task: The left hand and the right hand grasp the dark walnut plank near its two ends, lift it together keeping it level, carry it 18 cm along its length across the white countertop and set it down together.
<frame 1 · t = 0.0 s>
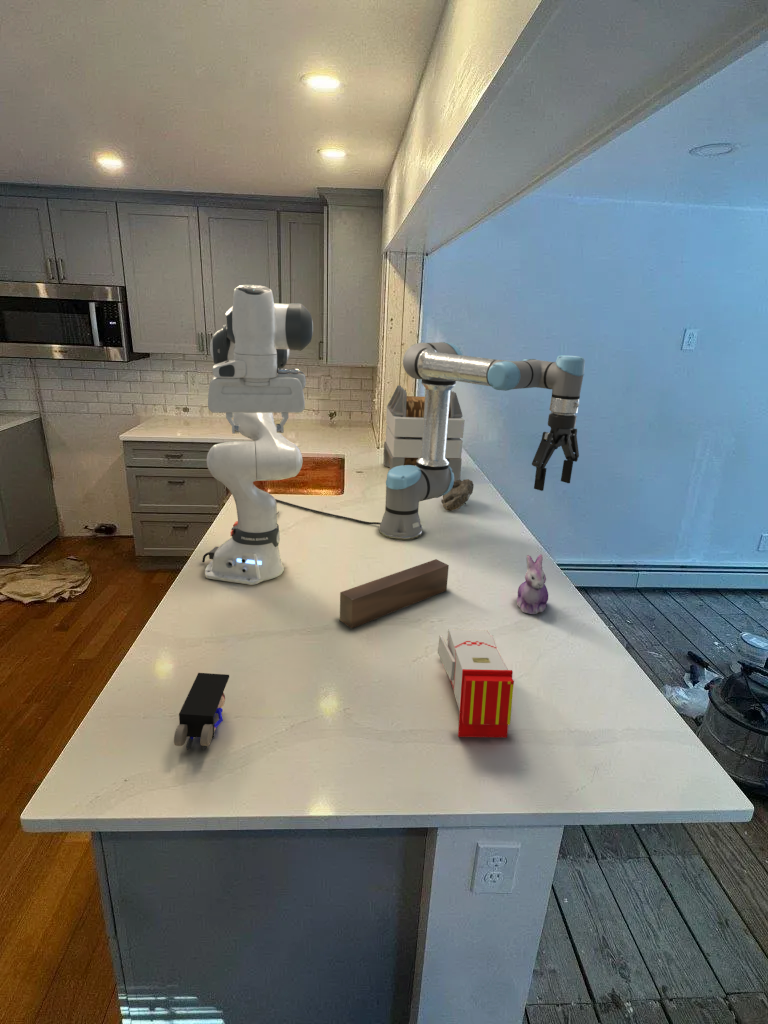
left hand: (258, 432, 124), 48 cm above the counter, fingers open, 8 cm apart
right hand: (552, 485, 166), 28 cm above the counter, fingers open, 13 cm apart
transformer: (419, 473, 275), on the counter
plank: (396, 604, 152), on the counter
fossil: (456, 504, 233), on the counter
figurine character: (205, 729, 105), on the counter
toy: (469, 691, 119), on the counter
figurine: (531, 607, 154), on the counter
feather: (277, 515, 212), on the counter
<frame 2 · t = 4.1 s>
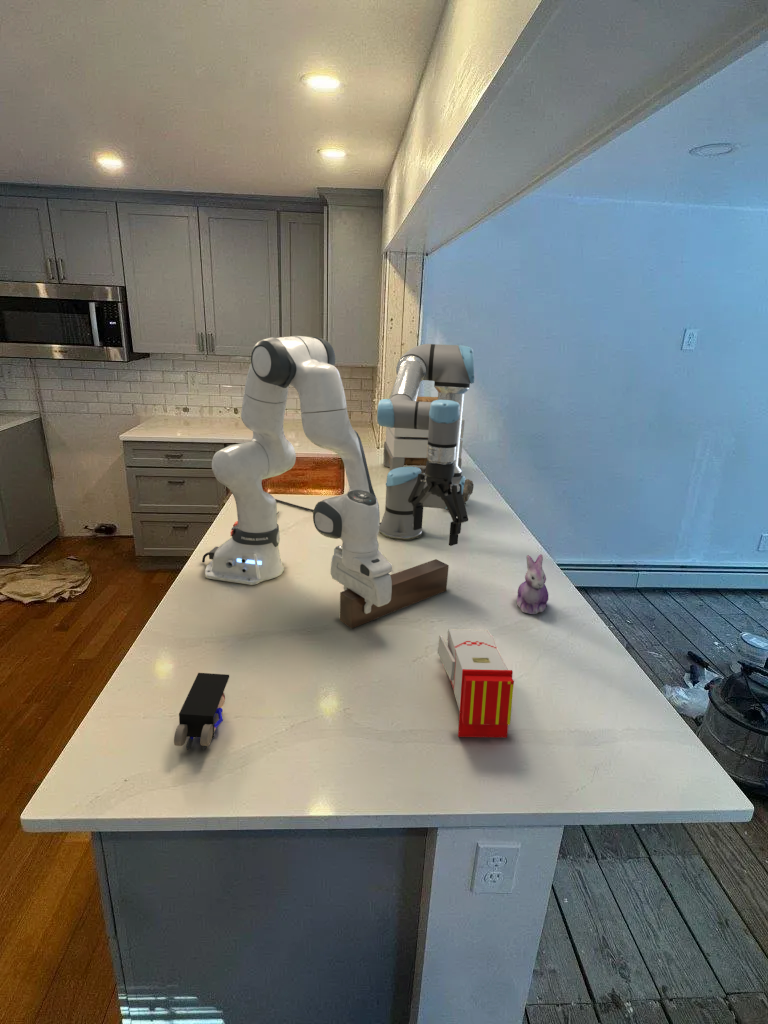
left hand: (358, 607, 143), 4 cm above the counter, fingers closed on plank, 5 cm apart
right hand: (434, 536, 155), 17 cm above the counter, fingers open, 13 cm apart
plank: (396, 604, 152), on the counter, touching left hand
everything else where it was.
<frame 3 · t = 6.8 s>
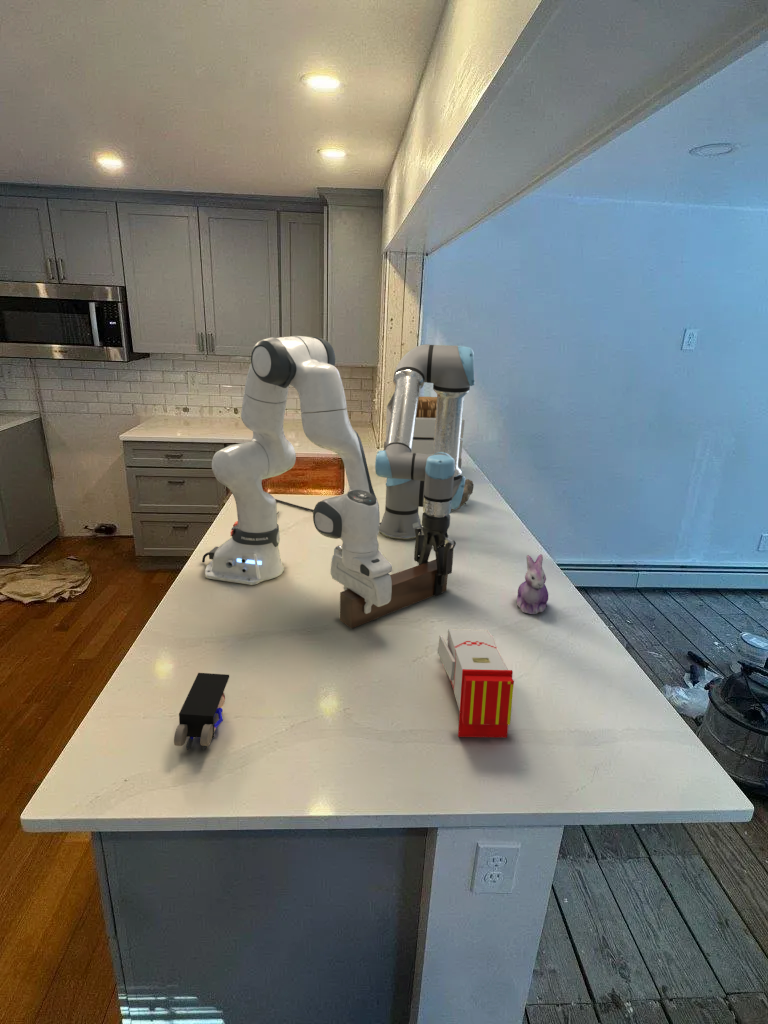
left hand: (358, 607, 143), 4 cm above the counter, fingers closed on plank, 5 cm apart
right hand: (430, 590, 160), 0 cm above the counter, fingers closed on plank, 5 cm apart
plank: (396, 604, 152), on the counter, touching right hand, left hand
everything else where it was.
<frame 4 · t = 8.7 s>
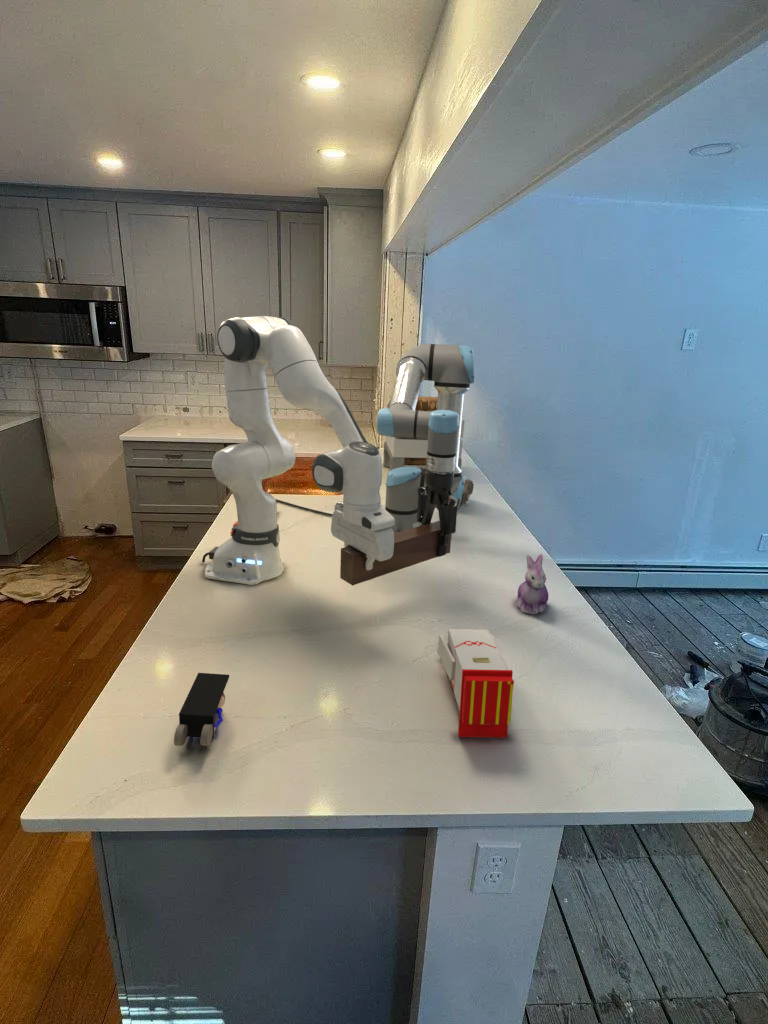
left hand: (359, 564, 139), 15 cm above the counter, fingers closed on plank, 5 cm apart
right hand: (433, 551, 156), 12 cm above the counter, fingers closed on plank, 5 cm apart
plank: (398, 564, 148), point 12 cm above the counter, touching right hand, left hand
everything else where it was.
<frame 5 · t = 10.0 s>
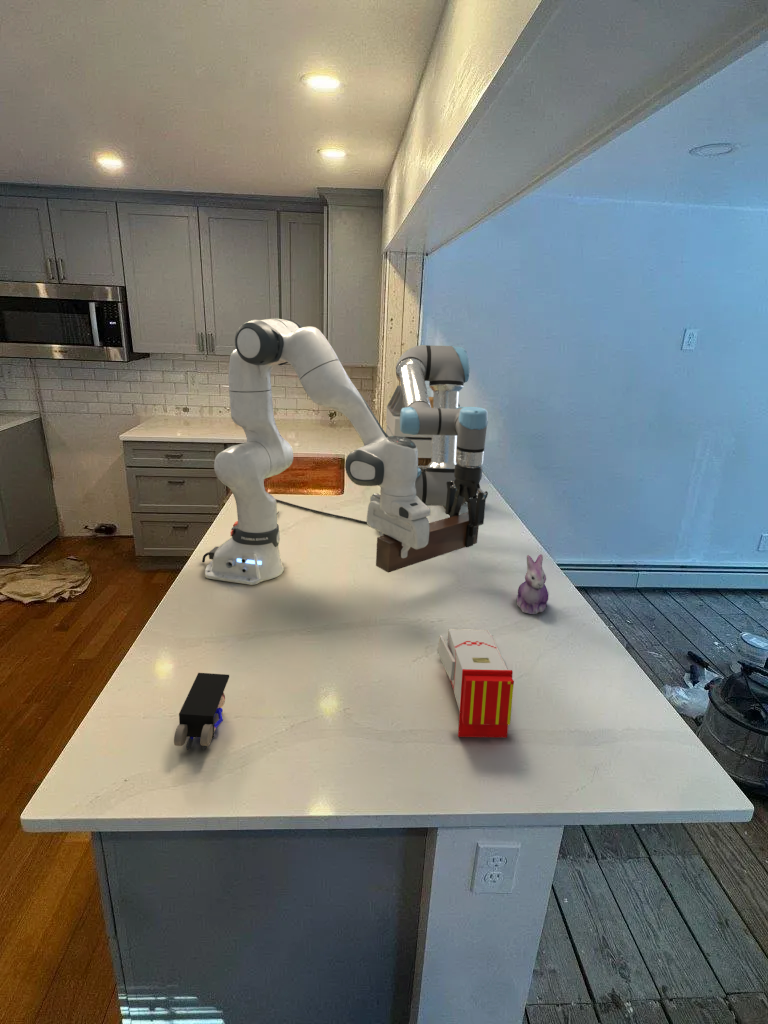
left hand: (394, 552, 146), 16 cm above the counter, fingers closed on plank, 5 cm apart
right hand: (461, 542, 163), 12 cm above the counter, fingers closed on plank, 5 cm apart
plank: (429, 553, 155), point 12 cm above the counter, touching right hand, left hand
everything else where it was.
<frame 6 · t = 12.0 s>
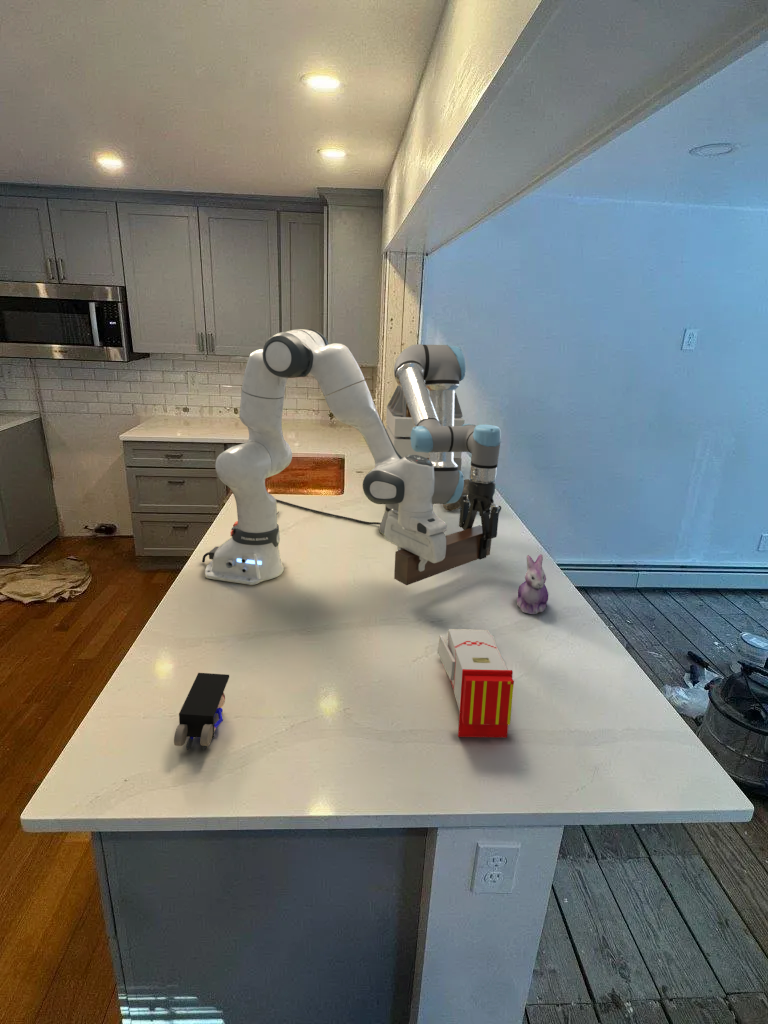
left hand: (412, 566, 152), 10 cm above the counter, fingers closed on plank, 5 cm apart
right hand: (474, 554, 169), 7 cm above the counter, fingers closed on plank, 5 cm apart
plank: (444, 566, 161), point 7 cm above the counter, touching right hand, left hand
everything else where it was.
when the right hand's fingers open (2 cm above the counter, at t = 13.1 s): plank drops 1 cm, on the counter.
when the left hand's fingers open (5 cm above the counter, at t = 13.3 s): plank stays where it is, on the counter.
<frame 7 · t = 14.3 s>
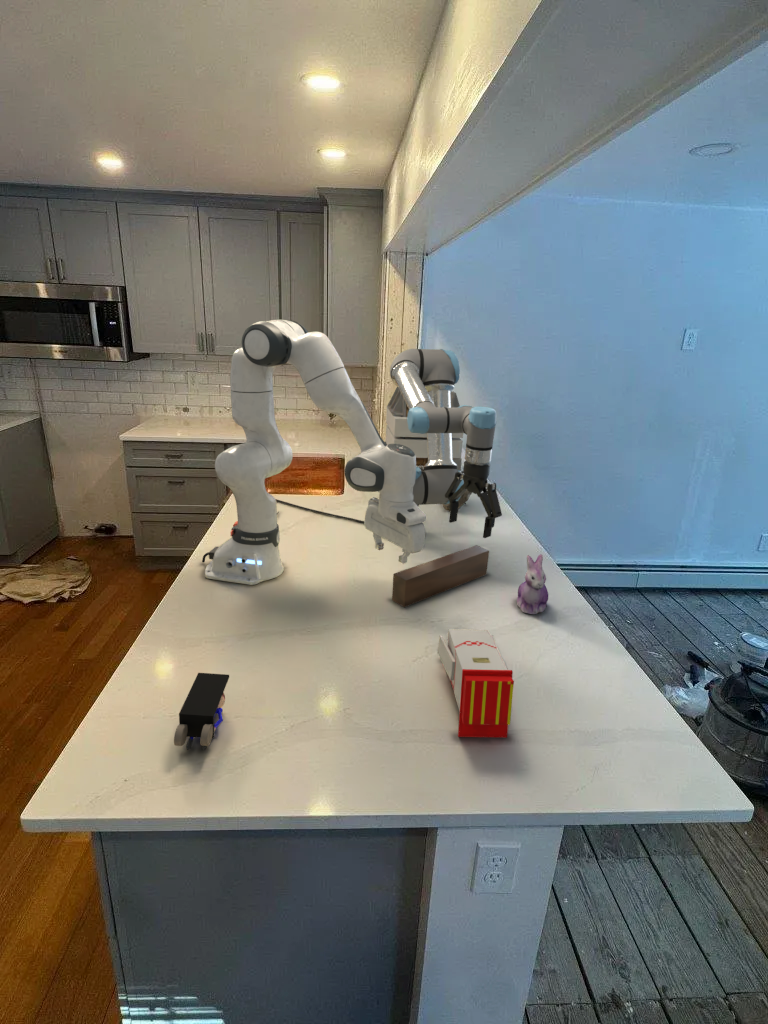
left hand: (390, 555, 151), 13 cm above the counter, fingers open, 8 cm apart
right hand: (469, 529, 171), 13 cm above the counter, fingers open, 13 cm apart
plank: (441, 586, 163), on the counter
everything else where it was.
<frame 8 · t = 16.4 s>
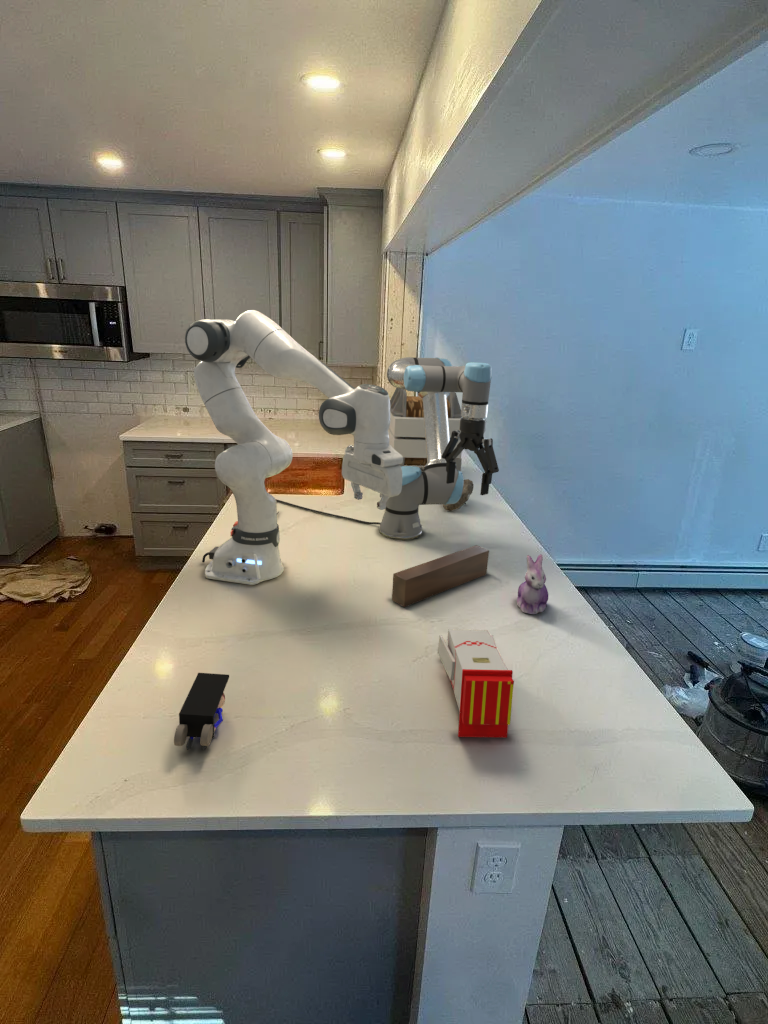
left hand: (369, 503, 146), 27 cm above the counter, fingers open, 8 cm apart
right hand: (466, 488, 171), 25 cm above the counter, fingers open, 13 cm apart
nothing on the counter moved.
at the end: plank inside the target area (0.3 cm from its centre), on the counter; both hands held the plank at the same time; plank never tilted more than 7° during the clip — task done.
